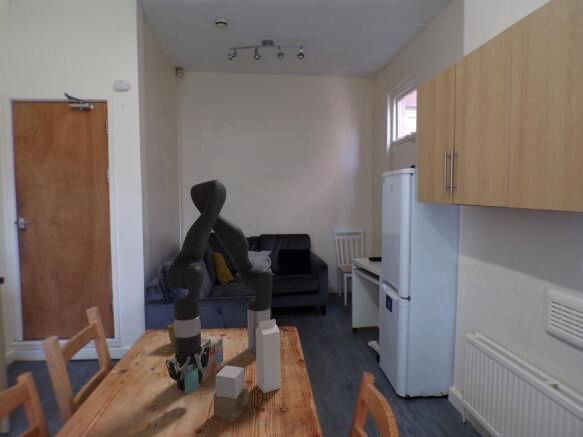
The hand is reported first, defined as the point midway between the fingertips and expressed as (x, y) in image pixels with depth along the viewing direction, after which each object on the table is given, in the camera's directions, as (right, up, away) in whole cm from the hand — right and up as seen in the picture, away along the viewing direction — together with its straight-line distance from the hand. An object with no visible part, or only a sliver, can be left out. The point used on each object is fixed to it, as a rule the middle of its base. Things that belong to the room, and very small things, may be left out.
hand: (190, 386), depth 103 cm
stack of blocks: (-1, -5, +18) cm, 19 cm away
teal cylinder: (0, -1, 0) cm, 1 cm away
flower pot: (-16, -4, +44) cm, 47 cm away
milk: (+23, -5, +9) cm, 25 cm away
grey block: (+13, +1, -4) cm, 14 cm away
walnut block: (+13, -5, -4) cm, 15 cm away
